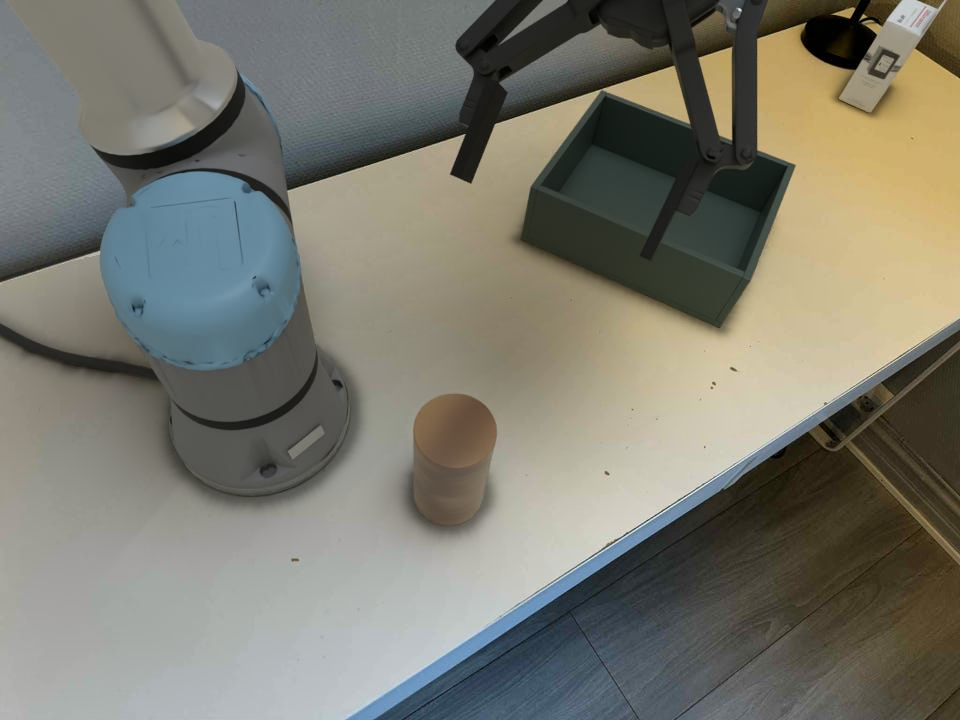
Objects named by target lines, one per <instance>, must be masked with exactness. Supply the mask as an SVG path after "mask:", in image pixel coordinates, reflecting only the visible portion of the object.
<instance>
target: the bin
mask: <svg viewBox="0 0 960 720" xmlns="http://www.w3.org/2000/svg"><path fill="white" fill-rule="evenodd" d="M719 137H720V141H721V144H724V145H732V139H730V138H727V137H725V136H722V135H720V134H719ZM555 151H556V152H554V154H553V155H552V156H551V158H550V159H549V161H548V162H547V164H546V165H545V166H544V168H543V169H542V170H541V172H540V173H539V174H538V176H537V177H536V179H535V180H534V181H533V183H532V184H531V185H530V188H529V193H528V198H527V202H526V203H527V204H526V208H525V214H524V218H523V223H522V229H521V235H520V240H521V241H523V242H525V243H528V244H530V245H532V246H535V247H537V248H539V249H541V250H544V251H546V252H548V253H551V254H552V255H555V256H557V257H559V258H562V259H564V260H566V261H569V262H571V263H573V264H575V265H577V266H580V267H582V268H585V269H586V270H589V271H591V272H593V273H595V274H598V275H599V276H602V277H604V278H607V279H609V280H611V281H613V282H614V283H615V282H616V283H618V284H620V285H622V286H625V287H626V288H629V289H632V290H634V291H636V292H638V293H640V294H642V295H645V296H647V297H650V298H651V299H653V300H656V301H657V302H660V303H662V304H664V305H667V306H669V307H672V308H674V309H676V310H678V311H681V312H683V313H685V314H687V315H690V316H691V317H694V318H696V319H699V320H701V321H703V322H705V323H708V324H710V325H712V326H715V327H716V328H721V327H722V326H723V324H724V322H725V321H726V319H727V318H728V316H729V315H730V314H731V312H732V310H733V309H734V307H735V306H736V304H737V303H738V301H739V299H741V296H743V293H744V292H745V290H747V287H749V284H750V283H751V281H752V279H753V276H754V273H755V271H756V268H757V267H758V263H759V261H760V258H761V256H762V253H763V250H764V248H765V245H766V243H767V241H768V238H769V236H770V233H771V230H772V228H773V225H774V223H775V220H776V218H777V215H778V213H779V210H780V208H781V205H782V202H783V199H784V197H785V195H786V193H787V190H788V187H789V185H790V182H791V180H792V177H793V174H794V171H795V170H796V167H797V164H795V163H792V162H789V161H787V160H785V159H782V158H779V157H776V156H775V155H771V154H769V153H767V152H763V151H761V150H759V149H757V157H756V158H755V160H754V161H753V163H752V164H751V165H750V167H748V168H747V169H745V170H738V169H721V170H719V171H717V172H716V173H715V174H714V176H713V177H712V179H711V181H710V183H709V185H708V187H707V190H706V192H705V194H704V196H703V198H702V200H701V202H700V204H699V206H698V208H697V210H696V212H695V213H694V214H693V215H692V216H691V217H690V218H687V217H685V216H683V215H680V214H678V213H675V214H674V216H673V218H672V220H671V222H670V224H669V227H668V229H667V231H666V233H665V235H664V237H663V239H662V241H661V243H660V245H659V247H658V250H657V252H656V254H655V256H654V258H653V260H652V261H650V260H647V259H645V258H643V257H641V256H640V254H641V251H642V249H643V247H644V245H645V243H646V241H647V239H648V237H649V235H650V232H651V230H652V228H653V226H654V224H655V222H656V220H657V218H658V215H659V213H660V211H661V209H662V207H663V205H664V203H665V201H666V199H667V196H668V194H669V192H670V190H671V188H672V186H673V184H674V182H675V180H676V177H677V175H678V173H679V171H680V169H681V167H682V165H683V163H684V161H685V158H686V156H689V157H692V158H694V159H697V160H699V155H698V151H697V147H696V144H695V140H694V136H693V132H692V129H691V125H690V123H689V122H686V121H684V120H682V119H681V120H680V119H678V118H675V117H673V116H670V115H667V114H665V113H662V112H660V111H658V110H654V109H653V108H649V107H647V106H644V105H641V104H639V103H636V102H634V101H631V100H629V99H626V98H623V97H621V96H618V95H615V94H614V93H612V92H611V93H610V92H608V91H605V90H603V89H601V90H600V92H599V93H598V94H597V95H596V97H595V98H594V100H593V101H592V102H591V104H590V105H589V106H588V108H587V109H586V111H584V113H583V114H582V116H581V117H580V119H579V120H578V121H577V123H576V124H575V126H574V127H573V128H572V130H571V131H570V132H569V134H568V135H567V136H566V138H565V139H564V141H563V142H562V143H561V144H560V146H559V147H558V149H557V150H555Z"/></svg>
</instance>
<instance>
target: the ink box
mask: <svg viewBox="0 0 960 720" xmlns="http://www.w3.org/2000/svg"><path fill="white" fill-rule="evenodd" d="M947 1H948V0H943V1H942V3H941V4H940V5H939V7H938V8H937V7H933V6H932V5H930V4H927V3H924V2H922V1H919V0H901V1H900V2H899V3H898V4H897V6H896V7H895V8H894V9H893V11H892V12H891V13H890V15H888V17H887V18H886V20H885V22H884V24H883V25H882V27H881V28H880V30H879V31H878V33H877V35H876V37H875V38H874V39H873V42H871V43H872V44H871V45H870V46H869V48H868V50H867V51H866V53H865V55H864V57H863V58H862V59H861V61H860V63H859V64H858V66H857V68H856V69H855V71H854V72H853V74H852V76H851V78H850V79H849V81H848V82H847V84H846V86H845V87H844V89H843V91H842V92H841V94H840V95H839V96H838V99H839V100H840V101H841V102H845V103H846V104H849V105H851V106H853V107H855V108H857V109H859V110H862V111H864V112H866V113H872V112H873V110H874V109H875V107H876V106H877V104H879V102H880V100H881V99H882V97H883V96H884V95H885V93H886V91H887V90H889V87H890V86H891V84H892V83H893V81H894V80H895V79H896V77H897V75H898V74H899V72H900V71H901V70H902V68H903V67H904V65H905V64H906V62H907V60H908V59H909V57H910V56H911V55H912V53H913V52H914V50H915V49H916V47H917V46H918V44H919V43H920V41H921V40H922V38H923V37H924V35H925V34H926V33H927V31H928V30H929V28H930V27H931V25H932V23H933V22H934V20H935V19H936V17H937V16H938V14H939V13H940V11H941V10H942V8H943V7H944V6H945V4H946V3H947Z"/></svg>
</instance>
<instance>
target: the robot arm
mask: <svg viewBox="0 0 960 720" xmlns="http://www.w3.org/2000/svg"><path fill="white" fill-rule="evenodd" d="M4 1H5V2H6V4H7V5H8V6H9V7H10V9H11V10H12V11H13V13H14V14H15V16H16V17H17V18H18V19H19V20H20V21H21V23H22V25H23V26H24V27H25V28H26V29H27V31H28V32H29V33H30V34H31V35H32V37H33V38H34V39H35V41H36V42H37V43H38V45H39V46H40V47H41V49H43V51H44V52H45V53H46V55H47V56H48V58H49V59H50V60H51V61H52V63H53V64H54V65H55V66H56V68H58V70H59V71H60V73H62V75H63V76H64V78H65V79H66V80H67V81H68V83H69V84H70V85H71V86H72V88H73V89H74V90H75V92H76V93H77V94H78V95H79V96H80V99H79V104H78V107H77V113H76V125H77V128H78V130H79V131H78V132H79V133H80V135H81V136H82V138H83V139H84V140H85V141H86V143H88V144H89V146H90V147H91V148H92V149H93V151H94V152H95V153H96V154H97V156H98V157H99V158H100V160H101V161H102V162H103V163H104V165H105V166H106V167H107V168H108V169H109V170H110V172H111V173H112V174H113V175H114V176H115V178H116V179H117V180H118V181H119V183H120V184H121V186H122V188H123V190H124V192H125V195H126V207H119V208H117V210H115V212H114V213H113V215H112V216H111V217H110V220H109V221H108V223H107V225H106V228H105V230H104V233H103V236H102V239H101V243H100V247H99V268H100V274H101V278H102V281H103V284H104V287H105V290H106V293H107V298H108V301H109V302H110V304H111V306H112V307H113V310H114V313H115V317H116V319H117V321H118V322H119V323H120V324H121V325H122V327H123V329H124V331H125V332H127V334H128V335H129V336H130V338H131V339H132V341H134V343H135V344H136V346H137V347H138V349H139V351H140V352H141V354H142V355H143V357H144V358H145V360H146V361H147V363H148V364H149V366H150V367H146V366H141V365H137V364H133V363H127V362H122V361H119V360H118V361H117V360H113V359H106V358H99V357H92V356H88V355H87V356H86V355H82V354H78V353H77V354H76V353H72V352H68V351H64V350H60V349H56V348H53V347H50V346H47V345H44V344H42V343H39V342H37V341H34V340H32V339H30V338H28V337H27V336H24V335H23V334H21V333H19V332H17V331H15V330H13V329H11V328H9V327H8V326H6V325H5V324H3V323H0V336H2V337H3V338H5V339H7V340H9V341H10V342H13V343H14V344H16V345H18V346H20V347H22V348H24V349H27V350H28V351H31V352H33V353H36V354H37V355H39V356H43V357H46V358H49V359H52V360H55V361H58V362H63V363H66V364H71V365H75V366H81V367H88V368H92V369H100V370H105V371H110V372H111V371H112V372H117V373H123V374H127V375H132V376H136V377H141V378H144V379H150V380H154V381H158V382H160V384H161V385H162V386H163V388H164V390H165V391H166V393H167V394H168V395H169V397H170V402H169V407H168V429H169V435H170V438H171V442H172V445H173V447H174V450H175V452H176V453H177V455H178V457H179V459H180V460H181V462H182V463H183V464H184V466H185V467H186V468H187V469H188V471H189V472H190V473H191V474H192V475H193V476H194V477H195V478H197V479H198V480H199V481H200V482H202V483H203V484H205V485H206V486H208V487H211V488H213V489H215V490H217V491H219V492H223V493H228V494H231V495H236V496H247V497H254V496H255V497H257V496H266V495H272V494H276V493H279V492H283V491H285V490H288V489H291V488H293V487H296V486H298V485H300V484H302V483H303V482H305V481H307V480H309V479H311V478H312V477H313V476H314V475H317V473H319V472H320V471H321V470H322V469H323V468H324V467H325V466H326V465H327V464H328V463H329V462H330V461H331V459H333V457H334V456H335V455H336V453H337V452H338V450H339V449H340V447H341V445H342V443H343V442H344V439H345V436H346V434H347V430H348V427H349V422H350V411H351V409H350V401H349V394H348V389H347V385H346V382H345V380H344V377H343V375H342V374H341V372H340V369H339V368H338V367H337V365H336V363H335V362H334V361H333V360H332V358H330V356H329V355H327V353H326V352H325V351H324V350H323V349H322V348H321V347H320V346H319V345H318V344H317V343H316V339H315V335H314V330H313V325H312V322H311V316H310V312H309V308H308V303H307V298H306V292H305V288H304V287H305V286H304V282H303V281H304V280H303V277H302V265H301V257H300V254H299V248H298V246H297V241H296V237H295V236H296V235H295V230H294V223H293V218H292V212H291V204H290V199H289V193H288V186H287V180H286V173H285V168H284V161H283V155H284V151H283V146H282V136H281V131H280V129H279V126H278V123H277V120H276V118H275V116H274V114H273V111H271V108H270V106H269V104H268V102H267V101H266V99H265V97H264V95H263V94H262V93H261V91H260V90H259V89H258V88H257V87H256V85H255V84H254V83H252V82H251V81H250V80H249V79H248V78H247V77H246V76H245V75H243V74H242V73H241V72H239V70H238V69H237V66H236V64H235V62H234V61H233V59H231V56H230V55H229V54H228V53H227V52H226V51H225V50H224V49H223V48H222V47H220V46H219V45H217V44H214V43H212V42H208V41H205V40H201V39H199V38H197V37H196V35H195V33H194V32H193V29H192V28H191V27H190V24H189V23H188V21H187V20H186V17H185V16H184V14H183V12H182V11H181V8H180V6H179V4H178V3H177V1H176V0H4ZM543 1H544V0H494V1H493V2H492V3H491V4H490V5H489V6H488V7H487V8H486V9H485V10H484V11H483V12H482V14H480V16H478V17H477V19H475V21H474V22H473V23H472V24H471V25H470V26H468V27H467V29H466V30H465V31H464V32H463V33H462V34H461V35H460V36H459V37H458V38H457V39H456V41H455V45H454V47H455V51H456V53H457V54H458V55H459V56H460V57H461V58H462V59H463V60H464V61H465V62H466V63H467V64H468V65H469V66H470V67H471V69H472V71H473V77H472V79H471V82H470V84H469V87H468V90H467V92H466V95H465V98H464V100H463V103H462V106H461V108H460V111H459V113H458V115H459V117H458V123H460V124H461V125H463V126H464V127H466V128H467V129H466V131H465V134H464V136H463V140H462V142H461V143H460V147H459V149H458V152H457V154H456V158H455V160H454V162H453V165H452V168H451V170H450V173H449V175H450V176H452V177H454V178H457V179H459V180H461V181H463V182H466V183H468V184H473V182H474V178H475V175H476V173H477V171H478V169H479V166H480V164H481V161H482V158H483V156H484V153H485V151H486V149H487V146H488V144H489V141H490V138H491V136H492V133H493V131H494V128H495V127H496V123H497V120H498V118H499V116H500V114H501V111H502V108H503V107H504V104H505V101H506V99H507V95H508V91H507V90H506V88H504V86H502V85H501V82H503V81H504V80H507V79H508V78H510V77H511V76H513V75H515V74H516V73H518V72H520V71H521V70H522V69H524V68H526V67H527V66H529V65H531V64H532V63H535V61H538V60H539V59H541V58H542V57H544V56H545V55H547V54H549V53H550V52H552V51H553V50H555V49H557V48H559V47H560V46H562V45H564V44H566V43H567V42H568V41H570V40H572V39H573V38H575V37H577V36H578V35H580V34H586V33H589V32H590V31H592V30H594V29H595V28H597V27H599V26H601V27H602V28H603V29H604V30H605V31H606V33H607V35H608V36H611V37H614V38H618V39H627V40H628V39H629V40H632V41H634V42H635V43H636V44H638V45H639V46H641V48H646V49H648V50H650V51H653V50H654V49H655V48H656V49H657V48H663V47H666V46H668V49H669V53H670V56H671V60H672V63H673V66H674V69H675V73H676V76H677V80H678V84H679V87H680V90H681V94H682V99H683V102H684V106H685V110H686V113H687V117H688V120H689V124H690V125H691V129H692V132H693V136H694V140H695V144H696V147H697V151H698V155H699V160H697V159H694V158H692V157H689V156H686V158H685V161H684V163H683V165H682V167H681V169H680V171H679V173H678V175H677V177H676V180H675V182H674V184H673V186H672V188H671V190H670V192H669V194H668V196H667V199H666V201H665V203H664V205H663V207H662V209H661V211H660V213H659V215H658V218H657V220H656V222H655V224H654V226H653V228H652V230H651V232H650V235H649V237H648V239H647V241H646V243H645V245H644V247H643V249H642V251H641V254H640V256H641V257H643V258H645V259H647V260H650V261H652V260H653V258H654V256H655V254H656V252H657V250H658V247H659V245H660V243H661V241H662V239H663V237H664V235H665V233H666V231H667V229H668V227H669V224H670V222H671V220H672V218H673V216H674V214H675V213H678V214H680V215H683V216H685V217H687V218H690V217H691V216H692V215H693V214H694V213H695V212H696V210H697V208H698V206H699V204H700V202H701V200H702V198H703V196H704V194H705V192H706V190H707V187H708V185H709V183H710V181H711V179H712V177H713V176H714V174H715V173H716V172H717V171H719V170H721V169H738V170H745V169H747V168H748V167H750V165H751V164H752V163H753V161H754V160H755V158H756V157H757V150H758V30H759V27H760V25H761V21H762V19H763V16H764V13H765V11H766V8H767V4H768V2H769V0H567V1H566V2H565V3H563V4H561V5H560V6H558V7H557V8H555V9H553V10H552V11H550V12H549V13H547V14H546V15H544V16H543V17H541V18H540V19H538V20H536V21H534V22H533V23H531V24H530V25H528V26H526V27H525V28H523V29H522V30H520V31H519V32H517V33H515V34H514V35H512V36H511V37H509V38H508V39H506V38H507V37H508V36H509V35H510V34H511V33H512V32H513V31H514V30H516V28H517V27H518V26H519V25H520V24H521V23H522V22H523V21H524V20H525V19H526V18H527V17H528V16H529V15H531V13H532V12H533V11H534V10H535V9H536V8H537V7H538V6H539V5H540V4H541V3H542V2H543ZM716 12H718V13H720V14H721V15H722V17H723V19H724V22H723V28H724V30H725V32H727V33H728V34H730V35H734V36H733V39H732V46H731V140H732V145H724V144H721V141H720V137H719V135H720V134H719V133H720V132H719V130H718V126H717V122H716V119H715V114H714V111H713V107H712V103H711V99H710V95H709V91H708V89H707V88H708V87H707V85H706V80H705V77H704V74H703V70H702V66H701V63H700V58H699V55H698V51H697V46H696V45H697V44H696V39H695V36H694V35H695V34H694V32H693V28H695V27H697V26H698V25H699V24H701V23H702V22H703V21H705V20H706V19H708V18H710V17H711V16H712V15H714V14H715V13H716ZM505 39H506V40H505Z"/></svg>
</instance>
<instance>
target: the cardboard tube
mask: <svg viewBox="0 0 960 720" xmlns="http://www.w3.org/2000/svg"><path fill="white" fill-rule="evenodd" d="M413 422H414V423H413V428H412V429H413V430H412V432H413V435H412V437H413V441H412V442H413V443H412V448H413V450H412V451H413V453H412V454H413V457H412V458H413V460H412V461H413V500H414V503H415V506H416V509H417V510H418V511H419V513H420V514H421V515H422V516H423V517H424V518H425V519H427V521H430V522H431V523H433V524H436V525H439V526H443V527H453V526H458V525H462V524H463V523H466V522H468V521H469V520H471V519H472V518H473V517H474V516H475V515H476V514H477V512H478V511H479V510H480V508H481V505H482V502H483V498H484V494H485V490H486V485H487V482H488V477H489V473H490V468H491V465H492V459H493V455H494V450H495V447H496V442H497V437H498V428H497V422H496V419H495V417H494V415H493V413H492V412H491V410H490V409H489V407H487V406H486V405H485V404H484V403H483V402H482V401H480V400H479V399H477V398H476V397H473V396H470V395H468V394H464V393H456V392H455V393H454V392H453V393H445V394H442V395H438V396H435V397H433V398H432V399H430V400H429V401H427V402H426V403H425V404H423V406H422V407H421V408H420V409H419V411H418V412H417V414H416V416H415V418H414V421H413Z"/></svg>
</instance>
